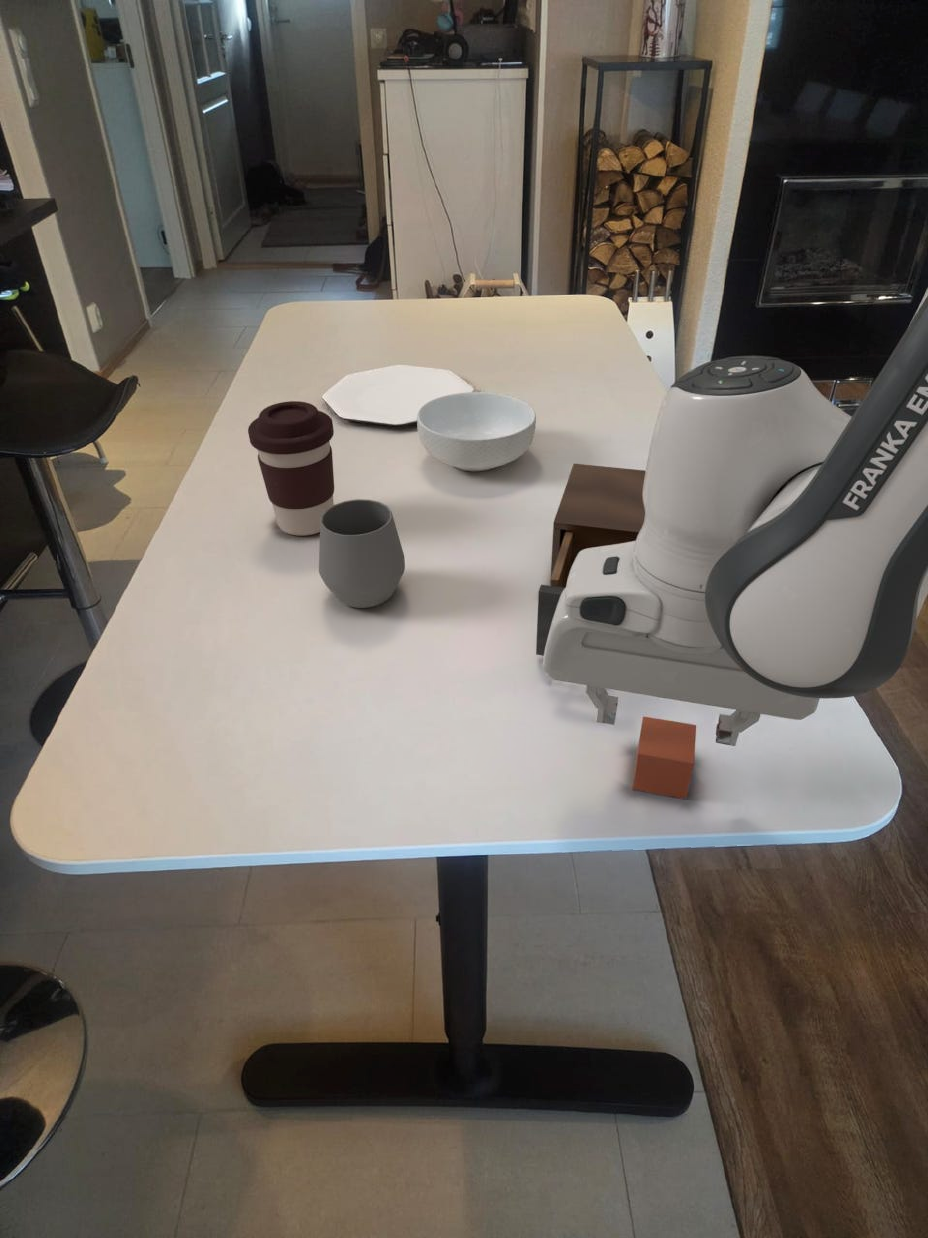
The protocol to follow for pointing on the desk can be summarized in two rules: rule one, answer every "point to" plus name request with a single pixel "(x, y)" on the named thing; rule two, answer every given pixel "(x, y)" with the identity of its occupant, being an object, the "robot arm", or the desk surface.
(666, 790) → the block
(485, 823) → the desk surface
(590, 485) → the cabinet
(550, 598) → the drawer
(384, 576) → the cup
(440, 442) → the cereal bowl
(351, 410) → the plate
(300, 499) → the coffee cup
